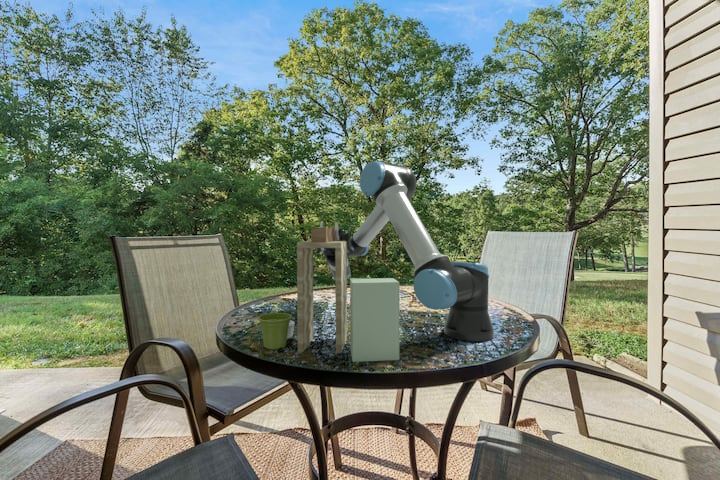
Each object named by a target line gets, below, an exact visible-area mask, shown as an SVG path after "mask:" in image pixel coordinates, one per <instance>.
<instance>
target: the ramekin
mask: <svg viewBox="0 0 720 480" xmlns="http://www.w3.org/2000/svg"><path fill="white" fill-rule="evenodd" d="M294 326H295V321H293V320H292V319H290V323H289V326H288V333H287V340H288V339H291V338H292V337H293V336H294V328H295V327H294Z"/></svg>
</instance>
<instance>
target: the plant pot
mask: <svg viewBox="0 0 720 480" xmlns="http://www.w3.org/2000/svg"><path fill="white" fill-rule="evenodd" d="M292 317H293V316H292V314H290V313H285V312H269V313H265V314H260V315H259V316H258V317H257V318H258V320H259V324H260V327H261V333H262V340H263V342H262V343H263V347H264V348H266V349H268V350H279V349H280V348H282V349H283V348H285V347H286V345H287V341H288V339H287V333H288V326H289V323H290V320H292Z"/></svg>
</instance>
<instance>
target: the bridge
mask: <svg viewBox="0 0 720 480" xmlns="http://www.w3.org/2000/svg"><path fill="white" fill-rule="evenodd" d="M317 248H335V267H336V280H335V354H342V353H343V350H344V346H345V344H346V341H347V339H348V287H347V286H348V283H347V282H348V279H347V241H331V242H311V240H305V241H298V242H296V276H297V277H296V284H297V285H296V286H297V287H296V288H297V294H296V295H297V297H296V299H297V300H296V301H297V304H296V305H297V306H296V307H297V308H296V309H297V313H296V315H297V353H304V352H305V350H306V349H307V347H308V346H309V344H310V343H311V341H312V340H313V338H314V329H315V328H314V249H317Z"/></svg>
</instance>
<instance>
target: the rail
mask: <svg viewBox="0 0 720 480" xmlns="http://www.w3.org/2000/svg"><path fill="white" fill-rule="evenodd" d="M310 229H311V231H310V232H311V240H310V241H311V242H331V241H337V237H336V233H335V227H324V228H320V227H311V228H310Z"/></svg>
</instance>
